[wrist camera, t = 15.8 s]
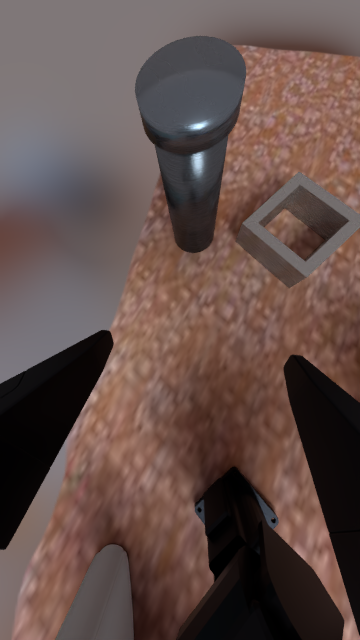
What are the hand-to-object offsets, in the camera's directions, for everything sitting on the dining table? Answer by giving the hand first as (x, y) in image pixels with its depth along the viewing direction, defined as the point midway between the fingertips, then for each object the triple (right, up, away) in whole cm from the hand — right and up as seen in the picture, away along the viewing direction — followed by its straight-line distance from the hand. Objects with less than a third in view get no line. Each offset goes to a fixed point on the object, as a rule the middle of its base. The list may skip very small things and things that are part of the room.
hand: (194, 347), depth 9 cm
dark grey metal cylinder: (+1, +14, +16) cm, 21 cm away
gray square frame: (+14, +12, +14) cm, 23 cm away
